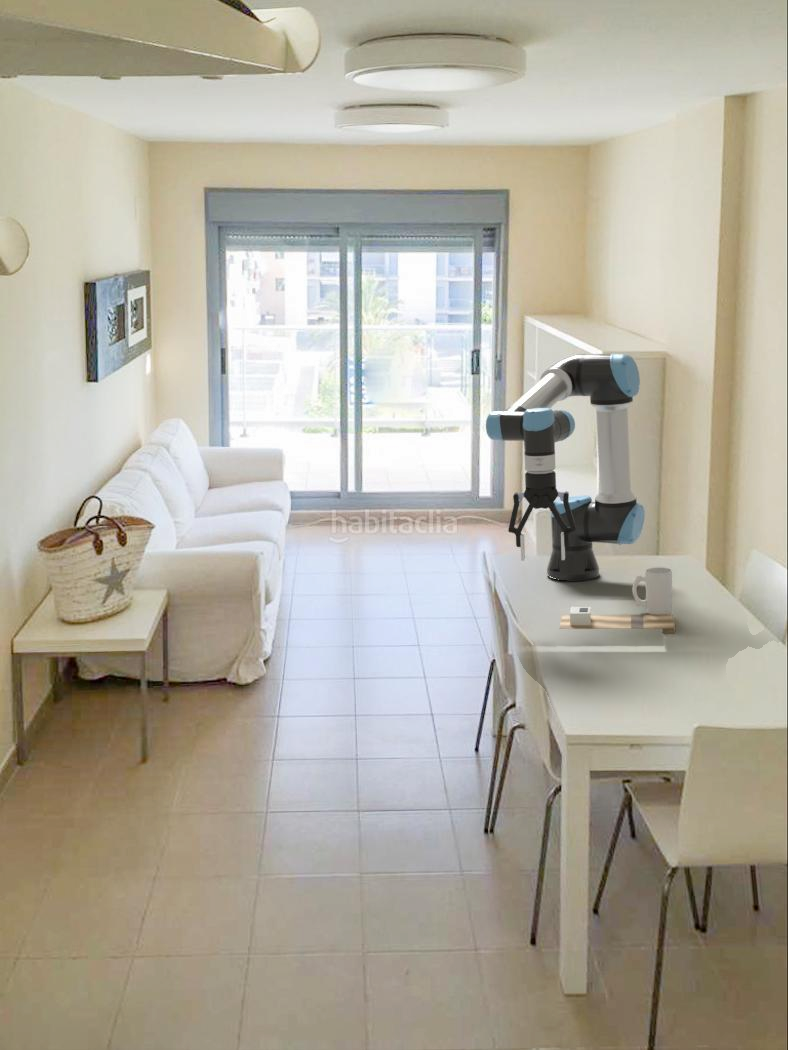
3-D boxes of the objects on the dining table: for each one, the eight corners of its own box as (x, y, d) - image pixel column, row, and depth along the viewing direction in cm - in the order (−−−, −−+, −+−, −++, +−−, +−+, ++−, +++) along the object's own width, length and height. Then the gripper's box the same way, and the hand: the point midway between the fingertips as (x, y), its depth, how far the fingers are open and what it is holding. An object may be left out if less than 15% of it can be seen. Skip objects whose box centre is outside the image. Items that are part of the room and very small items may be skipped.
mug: (671, 611, 324) (670, 566, 322) (674, 619, 318) (673, 573, 315) (631, 612, 326) (630, 568, 323) (633, 620, 319) (633, 574, 317)
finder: (571, 618, 319) (570, 606, 319) (591, 618, 318) (590, 606, 318) (570, 625, 314) (569, 612, 313) (590, 625, 313) (590, 612, 312)
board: (562, 619, 323) (561, 615, 323) (673, 619, 318) (673, 614, 317) (559, 633, 311) (559, 628, 311) (674, 632, 306) (674, 628, 306)
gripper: (494, 474, 308) (497, 563, 313) (584, 472, 304) (587, 562, 309) (497, 469, 315) (500, 556, 320) (585, 467, 311) (587, 555, 316)
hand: (543, 559), depth 314 cm, fingers open, 9 cm apart
